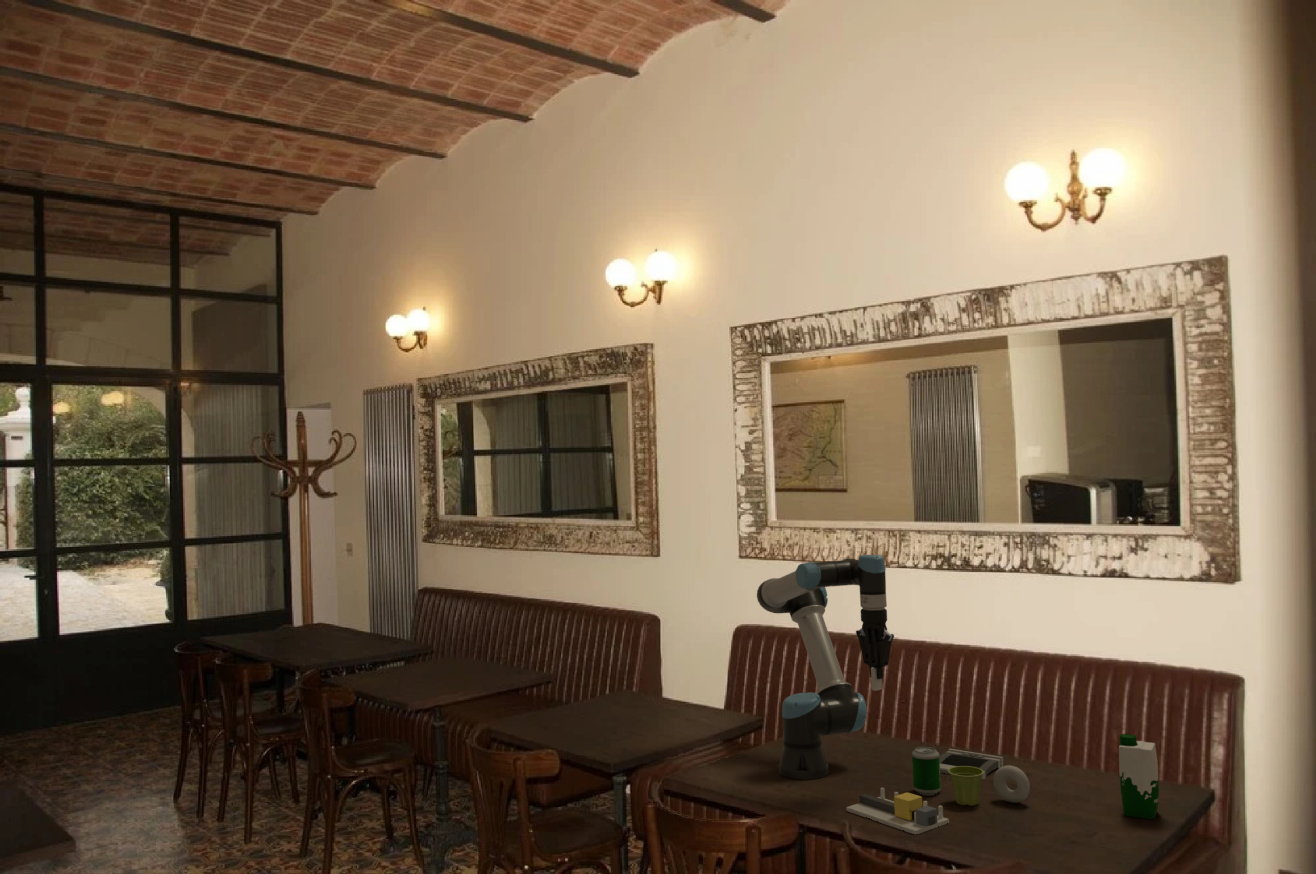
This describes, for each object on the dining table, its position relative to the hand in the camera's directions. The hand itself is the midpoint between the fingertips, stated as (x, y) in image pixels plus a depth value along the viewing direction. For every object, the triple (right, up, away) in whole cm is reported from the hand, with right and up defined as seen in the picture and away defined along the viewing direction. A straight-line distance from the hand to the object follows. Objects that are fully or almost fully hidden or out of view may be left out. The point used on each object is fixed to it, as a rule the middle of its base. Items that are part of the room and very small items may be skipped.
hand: (876, 689), depth 295 cm
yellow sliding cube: (+2, -26, -28) cm, 39 cm away
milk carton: (+63, -25, -29) cm, 74 cm away
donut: (+33, -27, -17) cm, 46 cm away
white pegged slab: (0, -28, -25) cm, 37 cm away
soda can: (+13, -28, -6) cm, 31 cm away
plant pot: (+22, -27, -16) cm, 38 cm away
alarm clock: (+30, -29, +15) cm, 44 cm away
